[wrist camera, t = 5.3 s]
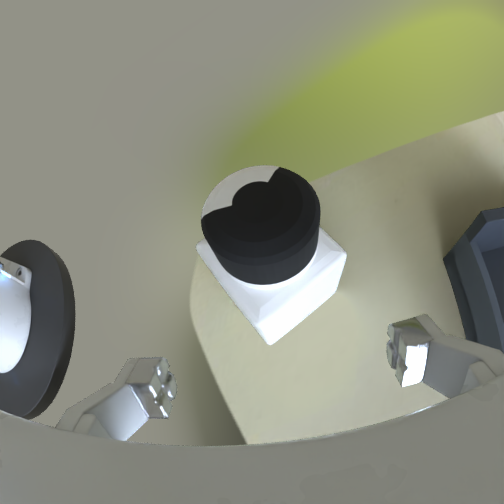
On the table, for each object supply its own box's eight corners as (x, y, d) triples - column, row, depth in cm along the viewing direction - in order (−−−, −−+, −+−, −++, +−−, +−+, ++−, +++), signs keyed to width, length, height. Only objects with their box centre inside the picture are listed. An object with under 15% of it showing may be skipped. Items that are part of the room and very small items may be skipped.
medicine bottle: (337, 291, 24) (363, 206, 13) (269, 347, 22) (241, 304, 12) (282, 235, 27) (268, 132, 16) (219, 283, 26) (162, 201, 15)
